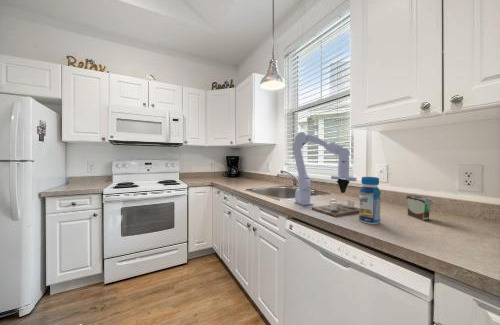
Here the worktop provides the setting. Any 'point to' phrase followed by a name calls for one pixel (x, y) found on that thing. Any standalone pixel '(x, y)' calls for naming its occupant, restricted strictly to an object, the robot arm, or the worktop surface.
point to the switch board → (340, 210)
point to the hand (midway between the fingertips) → (342, 192)
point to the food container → (418, 207)
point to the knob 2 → (333, 205)
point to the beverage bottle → (370, 201)
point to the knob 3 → (350, 203)
